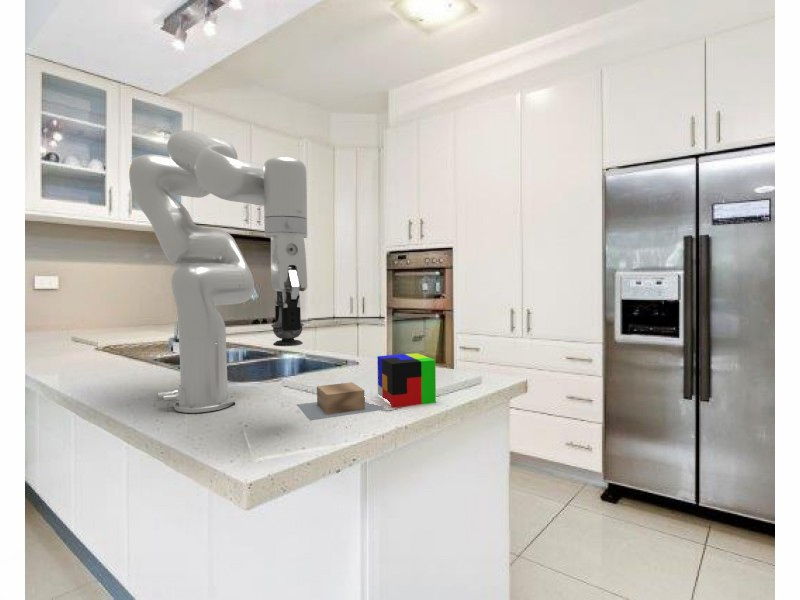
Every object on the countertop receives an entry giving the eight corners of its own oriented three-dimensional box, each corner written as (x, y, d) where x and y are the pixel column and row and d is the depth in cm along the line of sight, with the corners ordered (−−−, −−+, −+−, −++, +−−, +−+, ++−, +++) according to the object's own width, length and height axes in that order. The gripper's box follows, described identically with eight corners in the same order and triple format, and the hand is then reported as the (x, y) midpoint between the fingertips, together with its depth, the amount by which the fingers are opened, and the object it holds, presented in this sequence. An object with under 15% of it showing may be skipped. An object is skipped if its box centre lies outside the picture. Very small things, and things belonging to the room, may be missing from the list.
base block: (327, 414, 90) (326, 394, 90) (317, 404, 98) (316, 386, 97) (364, 409, 94) (364, 390, 93) (352, 399, 101) (351, 382, 101)
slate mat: (309, 423, 87) (309, 420, 87) (296, 407, 98) (296, 404, 98) (386, 411, 94) (386, 409, 94) (365, 398, 104) (365, 395, 104)
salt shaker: (266, 343, 83) (265, 278, 83) (297, 340, 87) (296, 278, 86) (278, 347, 79) (276, 279, 78) (309, 344, 82) (308, 278, 81)
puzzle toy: (378, 399, 104) (377, 356, 103) (417, 394, 107) (417, 353, 107) (392, 410, 95) (392, 363, 94) (435, 405, 98) (435, 360, 98)
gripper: (318, 225, 75) (319, 332, 76) (296, 233, 91) (298, 322, 92) (272, 223, 72) (274, 335, 73) (258, 232, 88) (260, 324, 89)
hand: (287, 327), depth 83 cm, fingers closed on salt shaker, 5 cm apart
